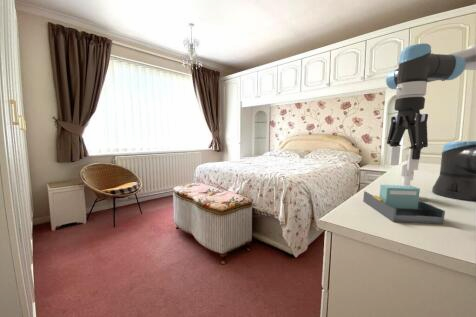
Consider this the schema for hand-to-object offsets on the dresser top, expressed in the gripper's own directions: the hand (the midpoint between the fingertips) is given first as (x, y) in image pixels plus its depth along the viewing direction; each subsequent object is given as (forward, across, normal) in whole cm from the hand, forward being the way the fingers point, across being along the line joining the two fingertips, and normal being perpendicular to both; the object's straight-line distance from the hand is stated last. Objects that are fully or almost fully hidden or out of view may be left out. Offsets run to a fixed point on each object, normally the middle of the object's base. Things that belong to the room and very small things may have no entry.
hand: (402, 167), depth 72 cm
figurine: (+16, -19, +14) cm, 28 cm away
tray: (+15, 0, 0) cm, 15 cm away
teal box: (+15, 0, 0) cm, 15 cm away
